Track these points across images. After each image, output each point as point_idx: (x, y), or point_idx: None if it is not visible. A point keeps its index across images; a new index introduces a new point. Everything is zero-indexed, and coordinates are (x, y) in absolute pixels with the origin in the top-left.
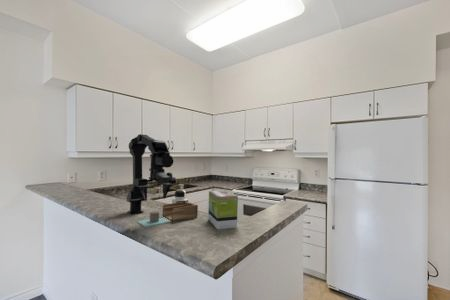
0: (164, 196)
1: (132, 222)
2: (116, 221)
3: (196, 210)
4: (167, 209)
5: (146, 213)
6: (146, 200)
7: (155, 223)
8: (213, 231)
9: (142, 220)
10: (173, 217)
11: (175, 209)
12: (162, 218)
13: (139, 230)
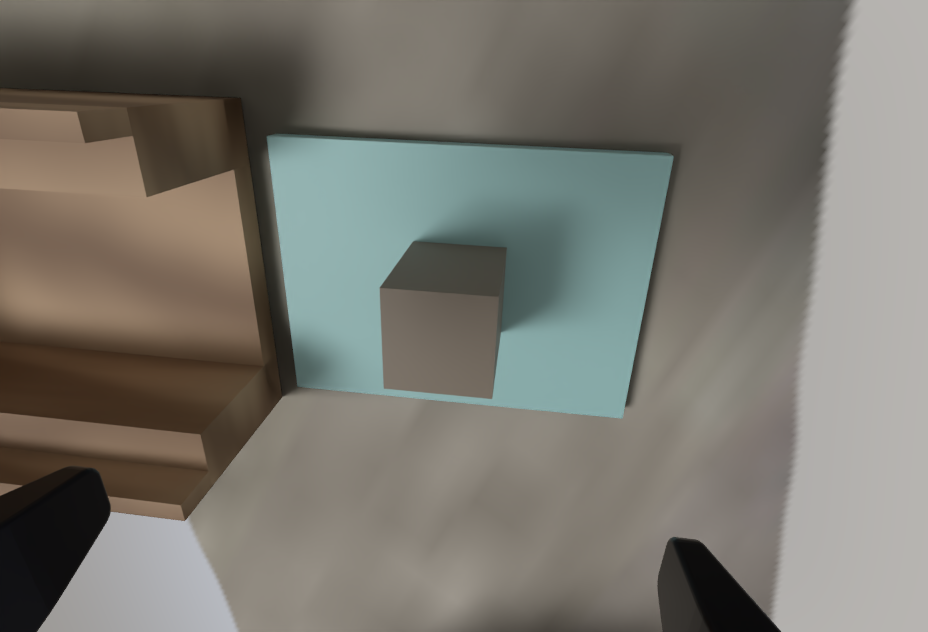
0: (41, 523)
1: (654, 452)
2: (754, 580)
3: None
4: (168, 412)
5: (373, 607)
6: (682, 544)
7: (494, 184)
8: None
9: (556, 411)
10: (196, 108)
11: (54, 108)
12: (314, 321)
13: (799, 100)
